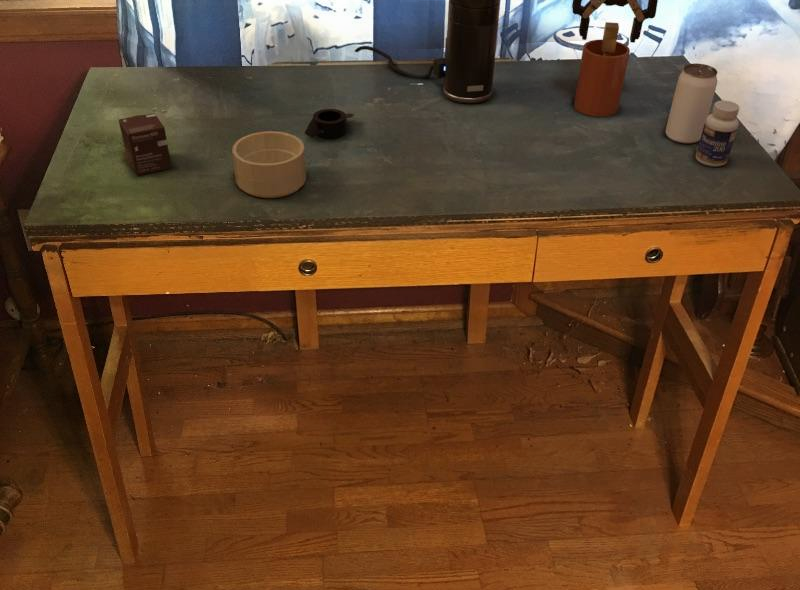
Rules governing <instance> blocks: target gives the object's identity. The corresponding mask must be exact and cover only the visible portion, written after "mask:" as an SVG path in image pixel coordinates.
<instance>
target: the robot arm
mask: <svg viewBox="0 0 800 590" xmlns="http://www.w3.org/2000/svg"><path fill="white" fill-rule="evenodd" d="M582 1H583V0H572V3H571V8H572V9H571V10H572V14H573V15H578V16H580V22H579V28H578V33H579V37H581V40H582V41H586V40H587V39H588V33H589V28H590V27H589V26H590V22H591V21H590V20H591V18H590V17H591V15H592V14H593V13H594V12H595V11H596V10H598V9H599V8H600V7H601V6H602V5H603V4H604V5H605V6H606V7H608V6H609V7H612V6H617V7H621V8H622V7H623V8H624V7H625V6H627V5H629V7H630V9H631V12H632V13H633V14H634V17H633V21H632V26H631V30H630V35H629V42H630V43H633V44H634V43H636V40H639V39H640V38H641V32H642V28H643V23H644V21H646V20H649V19H651V20H652V19H655V18H656V14H657V8H658V3H659V0H647V7H646V8H643V9H642V7H641V5H640V3H639V1H638V0H589V1H587V3H586V4H584V5H582V3H583V2H582ZM500 8H501V0H448V7H447V27H446V29H447V30H446V38H445V45H444V47H445V48H444V57H440V58H435V59H434V58H433V62H432V64H431V65H430V66H429V68H428V71H427V73H425V74H422V75H415V74H411V73H408V72H406V71H404V70H402V69H400V68H398V67H396V66H395V65H394V62H393V59H392V57H391V56H390V55H389V54H387V53H386V52H384V51H381V50H380V49H378V48H377V47H376V48H375V47H373V46H369V45H361V46H359V47H357V48H356V49H354V52H355V53H359V52H361V51H364V50H365V51H371V52H372V53H373V52H374V53H376V54H378V55H380V56H381V57H383V58H385V59H387V60H388V64H389V67H390V69H391V70H392V71H394V72H396V73H397V74H400V75H402V76H404V77H406V78H410V79H417V80H418V79H419V80H425V79H427V78H430V77H431V75H432V74H433V75H434V76H435V77H436V78H438V79H443V83H442V88H443V89H442V93H443V95H444V97H445V98H447V99H448V100H450V101H453V102H456V103H460V104H478V103H483V102H486V101H488V100H490V99H491V98H492V96H493V90H494V89H493V84H494V74H495V64H496V53H497V43H498V31H499V22H500Z"/></svg>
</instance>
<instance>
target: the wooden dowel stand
mask: <svg viewBox="0 0 800 590" xmlns="http://www.w3.org/2000/svg"><path fill="white" fill-rule="evenodd" d="M619 31H620V25H619V22H610V21H609V22H607V21H605V24H604V30H603V35H602V39H601V40H602V46H601V49H602V52H604V54H603V56H610V54H611V52H612V53H614V52H615V47H616V41H617V40H618V35H619ZM617 42H618V41H617Z"/></svg>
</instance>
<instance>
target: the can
mask: <svg viewBox="0 0 800 590" xmlns="http://www.w3.org/2000/svg"><path fill="white" fill-rule="evenodd" d="M717 75H718V70H717V68H715V67H713V66H711V65H708V64H705V63H688V64H686V65H684V66H683V70H682V71H681V73H680V74H679V76H678V79H677V82H676V87H675V91H674V95H673V99H672V102H671V106H670V110H669V114H668V119H667V123H666V126H665V127H666V128H665V130H664V131H665V135H666V137H667V138H668V139H669V140H671V141H672V142H674V143H678V144H683V145H691V144H696V143H699V141H700V138H701V134H702V131H703V127H704V124H705V120H706V118H707V116H708V115H710V111H711V108H712V104H713V100H714V96H715V94H716V91H717V90H716V89H717V86H718V76H717Z"/></svg>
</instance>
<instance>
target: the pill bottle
mask: <svg viewBox="0 0 800 590" xmlns="http://www.w3.org/2000/svg"><path fill="white" fill-rule="evenodd" d="M739 110H740V106H739V104H738V103H736V102H733V101H730V100H718V101H715V103H714V105H713V108H712V111H711V113H709V115H708V116H707V118H706V120H705V124H704V127H703V131H702V134H701V138H700V140H699V141H698V145H697V149H696V153H695V160H697V162H698V163H701V164H702V165H704V166H708V167H715V168H716V167H722V166H725V165H726V164H727V162H728V160H729V157H730V155H731V151H732V149H733V145H734V142H735V139H736V136H737V133H738V129H739V125H740V122H739V119H738V118H737V116H738V115H739Z"/></svg>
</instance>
